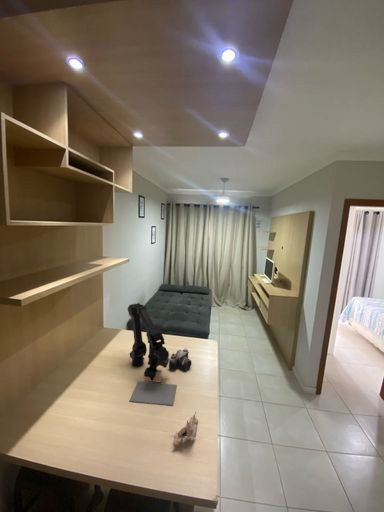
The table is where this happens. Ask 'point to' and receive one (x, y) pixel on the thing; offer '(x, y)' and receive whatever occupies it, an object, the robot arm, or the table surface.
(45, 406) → the table surface
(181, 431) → the bone fragment
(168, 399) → the mat
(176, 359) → the camera
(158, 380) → the block
